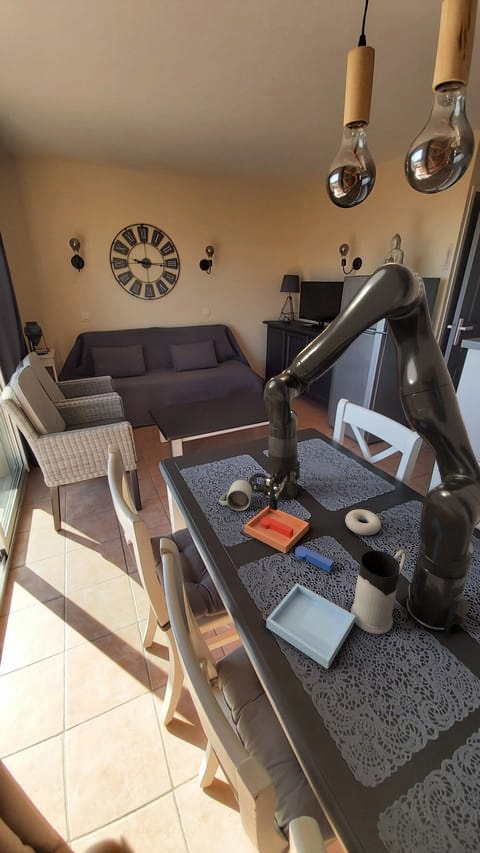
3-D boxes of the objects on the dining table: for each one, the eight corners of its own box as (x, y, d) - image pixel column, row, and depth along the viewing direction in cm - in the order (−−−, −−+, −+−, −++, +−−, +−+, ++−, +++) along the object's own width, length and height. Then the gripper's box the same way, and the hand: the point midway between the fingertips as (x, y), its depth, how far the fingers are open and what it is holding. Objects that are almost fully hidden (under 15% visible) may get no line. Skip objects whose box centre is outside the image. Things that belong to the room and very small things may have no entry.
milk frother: (302, 497, 121) (303, 458, 115) (256, 505, 117) (256, 465, 112) (287, 476, 133) (287, 440, 128) (245, 483, 130) (244, 446, 124)
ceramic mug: (252, 496, 122) (251, 477, 119) (250, 511, 115) (249, 491, 112) (221, 496, 123) (220, 476, 120) (217, 510, 116) (216, 490, 113)
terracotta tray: (308, 529, 106) (309, 523, 105) (285, 553, 97) (285, 546, 96) (268, 511, 114) (268, 505, 113) (244, 532, 106) (244, 525, 105)
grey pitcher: (342, 612, 80) (348, 560, 74) (380, 581, 88) (388, 532, 82) (377, 641, 74) (386, 587, 68) (414, 605, 81) (426, 554, 75)
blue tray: (354, 623, 78) (355, 615, 77) (327, 669, 69) (328, 661, 68) (296, 590, 86) (296, 582, 85) (266, 627, 77) (266, 619, 76)
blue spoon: (334, 565, 93) (335, 559, 92) (328, 574, 90) (328, 568, 89) (299, 548, 99) (300, 542, 98) (292, 556, 96) (292, 549, 95)
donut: (345, 536, 103) (382, 539, 101) (346, 526, 102) (384, 529, 100) (343, 514, 112) (377, 517, 110) (344, 505, 111) (378, 508, 109)
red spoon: (295, 532, 104) (295, 526, 103) (287, 540, 101) (288, 533, 100) (265, 519, 110) (265, 513, 109) (258, 525, 107) (258, 519, 107)
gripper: (279, 464, 86) (279, 519, 93) (309, 443, 97) (307, 494, 103) (254, 456, 91) (256, 509, 97) (285, 436, 101) (284, 486, 107)
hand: (282, 501), depth 100 cm, fingers open, 8 cm apart
